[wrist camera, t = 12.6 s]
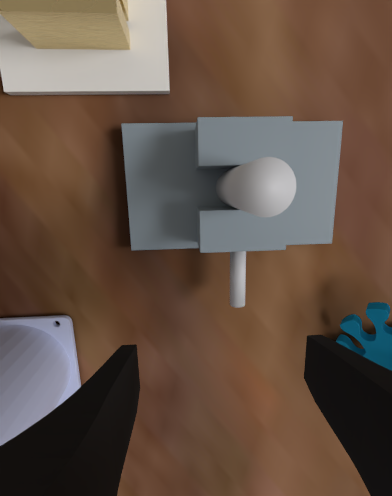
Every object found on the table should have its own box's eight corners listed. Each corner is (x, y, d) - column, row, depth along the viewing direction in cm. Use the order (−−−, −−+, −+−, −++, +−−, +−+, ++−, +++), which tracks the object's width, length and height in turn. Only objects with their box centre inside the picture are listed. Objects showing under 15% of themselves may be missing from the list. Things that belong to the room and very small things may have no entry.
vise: (138, 293, 20) (110, 362, 12) (125, 127, 18) (79, 78, 10) (319, 285, 21) (404, 346, 13) (332, 125, 18) (450, 77, 10)
